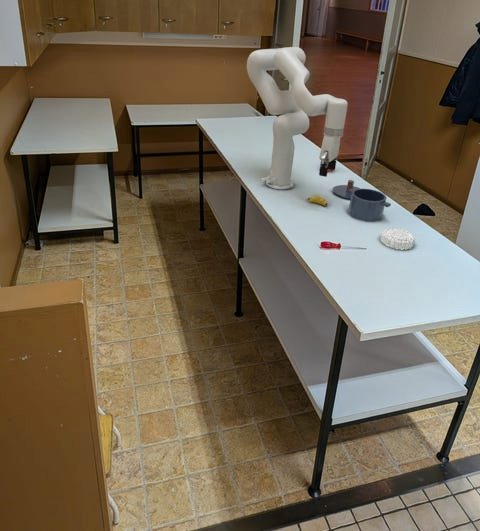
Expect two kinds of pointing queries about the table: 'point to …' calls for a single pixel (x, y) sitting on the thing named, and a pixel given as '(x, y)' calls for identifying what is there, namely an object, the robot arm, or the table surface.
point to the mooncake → (397, 238)
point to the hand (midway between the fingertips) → (327, 172)
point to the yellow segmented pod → (318, 200)
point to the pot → (367, 204)
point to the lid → (345, 189)
